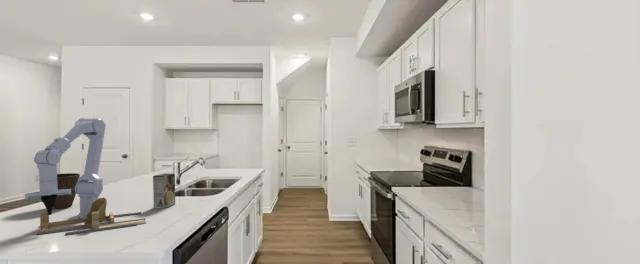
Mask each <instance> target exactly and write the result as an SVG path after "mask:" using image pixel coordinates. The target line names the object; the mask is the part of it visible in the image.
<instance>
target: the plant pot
mask: <svg viewBox="0 0 640 264" xmlns="http://www.w3.org/2000/svg"><path fill="white" fill-rule="evenodd" d="M80 177H81V174H80V173H74V172H73V173H71V172H70V173H67V172H65V173H57V185H58V190H59V189H71V194H69V195H68V194H66V195H57V198H56V200H55V202H54V205H53V208H52V210H53V209H54V210H61V209H62V210H63V209H68V208H72V207H73V203H74V201H75V198H76V195H77V194H76V192H75V186H76V184H77V182H78V178H80ZM51 195H52V194H51Z"/></svg>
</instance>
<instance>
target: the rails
mask: <svg viewBox="0 0 640 264" xmlns="http://www.w3.org/2000/svg"><path fill="white" fill-rule="evenodd" d="M136 215H142V212H141V211H139V212H130V213H121V214H113V216H114V218H119V217H120V218H121V217H128V216H136ZM139 220H145V221H146V218H137V219H129V220H121V221H114V222H112V223H105V224H99V226H100V225H108V224H116V223H123V222H131V221H139ZM134 226H138V224H137V223H133V224H126V225H118V226H111V227H103V228H96V229H92V225H89V226H81V227H74V228H66V229H58V230H51V231H43V232H39V231H37V232H36V236H39V235H40V236H41V235H46V234H54V233H60V232H65V236H70V235H77V234H83V233H92V232H99V231H106V230H113V229H120V228H127V227H128V228H129V227H134ZM90 228H91V229H90Z"/></svg>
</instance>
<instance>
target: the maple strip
mask: <svg viewBox="0 0 640 264" xmlns="http://www.w3.org/2000/svg"><path fill="white" fill-rule="evenodd" d="M133 223H137V225H143V224H144V225H145V224H146V223H147V222H146V219H145V220H139V221H131V222H123V223H116V224H108V225H100V226H99V211H98V212H92V228H91V229H96V228H103V227H111V226H118V225H126V224H133Z"/></svg>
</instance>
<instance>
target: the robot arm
mask: <svg viewBox="0 0 640 264" xmlns="http://www.w3.org/2000/svg"><path fill="white" fill-rule="evenodd" d="M106 126H107V124H105V122H104V120H103V118H99V117H97V118H85V117H84V118H83V117H82V118H78V120H77V121H75V122H74V126H73V127H71V129H70V130H69V131H68V132H67V133H66V134H65V135H64V136H63V137H56V138H54V141H53V142H51V143H50V144H49V145H47V146H46V147H45V148H44V149H43V150H39V151H38V152H36V154H35V155H34V157H33V161H34V163H35V164H36V168H37V169H38V181H39V182H38V183H39V184H38V185H39V191H33V192H26V193H24V199H25V200H29V199H35V198H36V199H37V198H40V200H41V202H42V204H43V205H44V207H45V209H46V211H47V212H46V213H48V215H49V216H51V215H52V213H53V205H54V202H55V200H56V198H57V195H66V194H68V195H69V194H71V189H59V190H58V185H57V174H58V169H57V166H58V165H57V164H58V163H60V162H61V157H62V156H63V155H64V154H65V152H67V151H68V150H69V149H70V148H71V143H73V142H74V141H75V140H76V139H78V138H79V137H80V136H81V135H84V136H85V137H86V138H88V140H89V142H88V143H89V144H88V149H87V155H86V162H85V166H84V171H83V174H82V175H80V177H79V178H78V182H77V184H76V186H75V192H76V195H77V197H78V198H79V213H78V219H83V218H87V215H88V213H89V212H90V209H91V207H92V203H93V202H95V201H96V200H97V199H99V198H100V197H99V196H101V194H102V192H103V189H104V185H103V182H104V181H103V178H102V177H100V176H99V171H100V164H101V158H102V153H103V146H104V140H105V133H106V132H105V131H106ZM51 194H52V195H51Z"/></svg>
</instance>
